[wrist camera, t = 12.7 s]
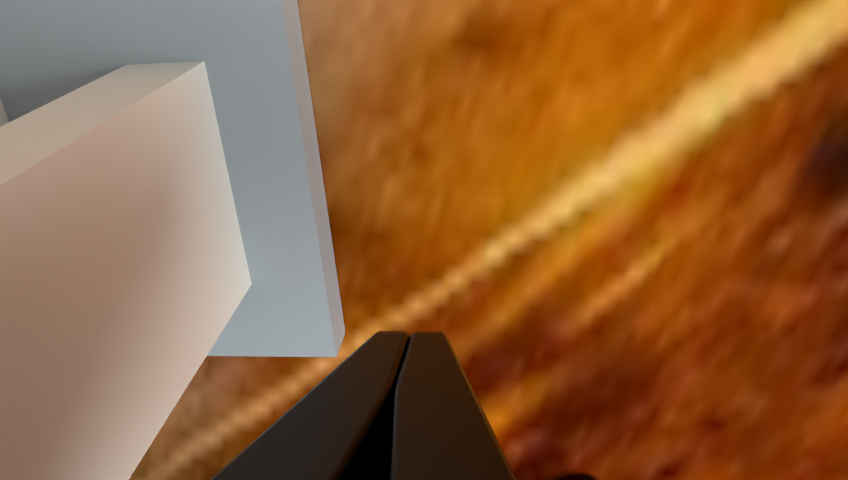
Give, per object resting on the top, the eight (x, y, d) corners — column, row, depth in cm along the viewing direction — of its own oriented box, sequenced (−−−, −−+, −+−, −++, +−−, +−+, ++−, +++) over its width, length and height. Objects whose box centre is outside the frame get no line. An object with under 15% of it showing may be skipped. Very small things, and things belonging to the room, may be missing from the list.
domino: (203, 61, 13) (-134, 266, 6) (251, 284, 16) (41, 618, 9) (126, 64, 14) (-286, 267, 7) (184, 284, 16) (-76, 611, 9)
